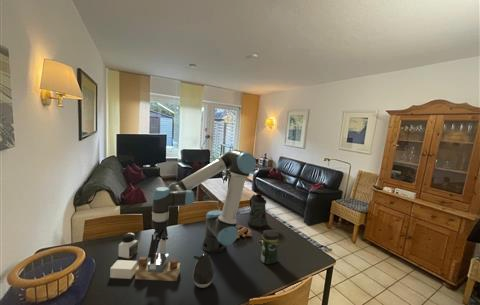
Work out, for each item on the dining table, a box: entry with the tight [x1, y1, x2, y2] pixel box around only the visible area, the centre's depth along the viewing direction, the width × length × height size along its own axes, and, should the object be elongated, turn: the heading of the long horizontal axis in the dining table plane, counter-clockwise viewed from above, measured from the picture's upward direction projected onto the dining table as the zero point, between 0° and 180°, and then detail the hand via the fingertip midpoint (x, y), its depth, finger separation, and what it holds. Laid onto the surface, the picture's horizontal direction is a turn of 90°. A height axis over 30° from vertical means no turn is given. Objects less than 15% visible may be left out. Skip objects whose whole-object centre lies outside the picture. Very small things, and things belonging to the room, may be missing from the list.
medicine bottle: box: [118, 232, 139, 259], centre depth 119 cm, size 7×7×12 cm
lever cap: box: [148, 252, 170, 273], centre depth 103 cm, size 7×9×5 cm
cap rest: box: [109, 259, 138, 280], centre depth 103 cm, size 10×6×5 cm, turn 92°
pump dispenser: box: [192, 253, 215, 289], centre depth 100 cm, size 10×10×15 cm
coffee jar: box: [260, 229, 280, 265], centre depth 122 cm, size 10×8×19 cm
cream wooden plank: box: [134, 256, 181, 282], centre depth 104 cm, size 20×6×9 cm, turn 92°
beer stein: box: [246, 193, 268, 230], centre depth 169 cm, size 16×19×25 cm
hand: (158, 259), depth 103 cm, fingers open, 13 cm apart
